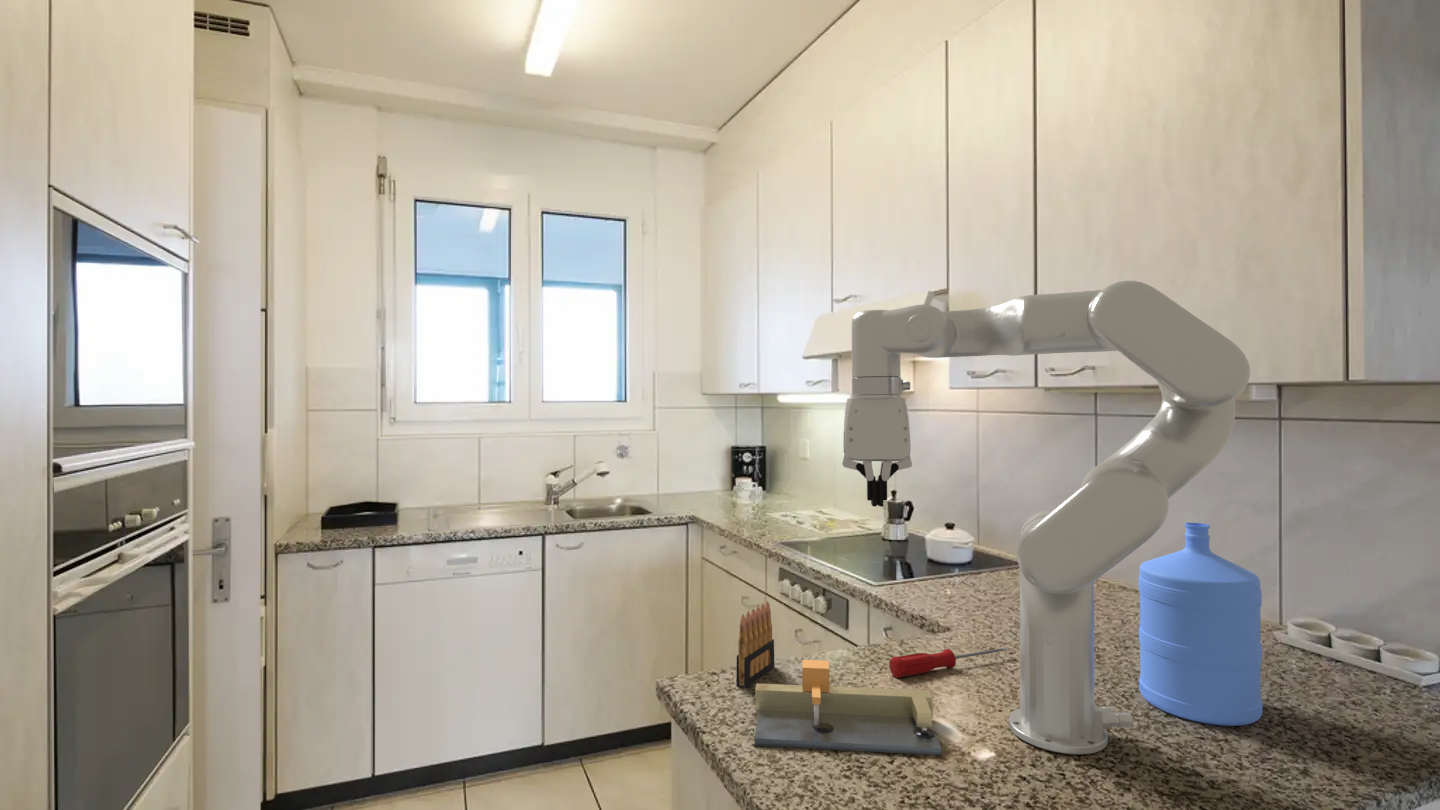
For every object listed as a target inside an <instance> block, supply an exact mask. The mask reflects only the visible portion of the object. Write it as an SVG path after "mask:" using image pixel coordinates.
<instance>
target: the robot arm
mask: <svg viewBox="0 0 1440 810" xmlns="http://www.w3.org/2000/svg"><path fill="white" fill-rule="evenodd" d="M1101 352H1102V353H1103V352H1119V353H1120V354H1122V356H1123V357H1125V358H1126V359H1128V360H1129V361H1131V363H1133V364H1134V365H1136V366H1137V367H1138V368H1140V369H1141V370H1143V372H1145V373H1146V374H1147V375H1149V376H1150V377H1152V378H1153V379H1154V380H1156V381H1157V385H1158V389H1159V390H1160V393H1161V405H1160V407H1159V410H1158V412H1157V413H1156V415H1155V416H1154V417H1153V418H1152V419H1151V421H1150V422H1148V423H1147V424H1146V425H1145V426H1144V427H1143V428H1142V429H1141V430H1140V431H1139V432H1137V433H1136V434H1135V435H1134V436H1133V437H1132V438H1131V439H1130V440H1128V441H1127V442H1126V443H1125V444H1124V445H1122V446H1121V447H1119V449H1118V450H1116V451H1115V452H1114V453H1113V454H1111V455H1110V456H1109V457H1108V458H1106V459H1105V460H1104V461H1102V462H1101V463H1099V464H1098V465H1096V466H1094V467H1093V468H1092V469H1090V470H1089V471H1088V472H1087V474H1086V475H1085V476H1084V477H1083V480H1082V482H1081V483H1080V487H1079V488H1078V489H1077V490H1076V491H1075V492H1073V493H1072V494H1071V495H1069V496H1068V497H1067V498H1066V499H1065V500H1064V501H1062V503H1060V504H1059V505H1057V507H1055V508H1054V509H1045V510H1042V511H1039V512H1037V513H1035V514H1033V515H1032V516H1030V517H1029V518H1028V519H1027V520H1026V521H1025V523H1024V524H1023V525H1022V527H1021V529H1020V532H1019V535H1018V540H1017V547H1016V548H1017V549H1016V558H1017V564H1018V566H1019V688H1020V689H1019V691H1020V692H1019V694H1020V695H1019V697H1020V698H1019V701H1020V702H1019V703H1020V705H1019V706H1020V707H1019V708H1016V709H1014V710H1013V711H1012V712H1011V713H1010V714H1009V716H1008V727H1009V729H1010V731H1011V732H1012V733H1014V735H1015V736H1017V737H1018V738H1019V739H1021V740H1022V741H1024V742H1026V743H1028V744H1030V745H1031V746H1032V745H1033V746H1035V747H1037V748H1040V749H1043V750H1047V751H1050V752H1054V753H1060V754H1067V755H1088V754H1089V755H1090V754H1094V753H1098V752H1100V751H1102V750H1104V749H1105V748H1107V745H1108V743H1109V742H1108V737H1109V735H1108V733H1107V730H1108V729H1109V728H1110V727H1118V728H1126V729H1127V728H1128V729H1132V728H1133V727H1134V720H1133V719H1134V718H1133V715H1132V714H1131V713H1130V712H1122V711H1121V712H1117V711H1115V708H1114V707H1113V706H1107V705H1106V706H1105V705H1103V706H1098V705H1097V703H1095V588H1094V587H1095V586H1094V584H1095V581H1097V580H1098V579H1099V578H1101V577H1102V576H1103V575H1105V574H1106V573H1108V572H1109V570H1111V569H1113V568H1114V567H1115V566H1117V564H1119V563H1120V562H1122V561H1123V560H1124V559H1125V558H1127V557H1128V556H1129V555H1130V554H1133V552H1134V551H1136V550H1138V548H1140V547H1141V546H1142V545H1143V544H1145V543H1146V542H1148V541H1149V540H1150V539H1151V538H1152V537H1153V536H1154V535H1155V534H1156V533H1157V532H1158V530H1159V529H1160V528H1161V526H1162V525H1163V524H1164V522H1165V520H1166V518H1167V515H1168V513H1169V499H1170V498H1172V496H1173V495H1175V494H1176V493H1177V492H1178V491H1180V490H1181V489H1182V488H1183V487H1185V486H1186V485H1187V484H1188V483H1189V482H1190V481H1191V480H1193V478H1195V477H1196V476H1197V475H1199V474H1200V473H1201V472H1202V471H1203V470H1205V469H1206V468H1207V466H1210V464H1211V463H1212V462H1213V461H1214V460H1215V459H1216V458H1217V457H1218V456H1219V455H1220V453H1221V452H1222V451H1223V450H1224V448H1225V447H1226V445H1227V444H1228V441H1229V439H1230V437H1231V434H1232V431H1233V428H1234V425H1235V424H1234V423H1235V419H1236V398H1237V397H1239V396H1240V395H1241V394H1242V393H1243V392H1244V390H1245V389H1246V387H1247V386H1248V383H1249V380H1250V378H1251V376H1250V375H1251V368H1250V367H1251V366H1250V363H1249V360H1248V358H1247V357H1246V355H1245V353H1244V352H1243V351H1242V349H1241V348H1240V347H1239V346H1238V345H1237V344H1235V343H1234V342H1233V341H1232V340H1231V339H1229V338H1228V337H1226V336H1225V335H1223V334H1222V333H1220V332H1219V331H1218V330H1216V329H1215V328H1213V327H1212V326H1210V325H1209V324H1207V323H1206V322H1205V321H1203V320H1201V319H1200V318H1198V316H1196V315H1194V314H1193V313H1191V312H1190V311H1188V310H1187V309H1185V308H1184V307H1182V306H1181V305H1180V304H1178V303H1177V302H1175V301H1174V300H1172V299H1171V298H1170V297H1168V296H1167V295H1166V294H1164V293H1162V291H1160V290H1158V289H1157V288H1155V287H1153V286H1151V285H1149V284H1147V283H1144V282H1142V281H1136V280H1123V281H1122V280H1121V281H1118V282H1115V283H1112V284H1110V285H1108V286H1106V287H1104V288H1103V289H1097V290H1085V291H1071V292H1060V293H1059V292H1058V293H1045V294H1042V293H1041V294H1030V295H1024V296H1018V297H1015V298H1013V299H1011V300H1008V301H1006V302H1004V303H1001V304H998V305H994V306H989V307H983V308H978V309H977V308H975V309H962V310H950V311H947V310H945V311H942V309H941V310H940V308H938V307H936V306H934V305H931V304H916V305H909V306H906V307H900V308H895V309H891V310H889V309H868V310H862V311H858V312H856V313H855V314H854V315H853V316H852V320H851V397H849V398H846V403H845V410H844V421H843V455H844V456H843V460H842V462H841V464H842V466H843V468H847V469H850V470H855V471H857V472H859V473H860V475H862V476H863V477H864V478H865V479H866V498H867V499H866V501H870V505H871V506H872V507H877V506H879V507H880V508H883V507H884V501H888V481H889V480H890V478H892V476H894V474H895V473H897V471H902V470H905V469H909V468H912V466H913V463H912V459H911V452H912V451H911V448H912V447H911V430H910V419H909V413H908V412H909V411H908V406H907V400H906V398H905V397H902V395H903V394H902V393H903V392H905V391H910V390H911V381H906V380H903V379H902V376H901V373H902V372H901V353H902V354H913V355H917V356H921V357H923V358H931V359H933V358H934V359H937V358H938V359H939V358H940V359H941V358H963V357H966V358H967V357H982V356H984V357H985V356H1012V357H1013V356H1023V355H1024V356H1026V355H1027V356H1030V355H1044V354H1046V355H1047V354H1049V355H1050V354H1068V353H1101ZM901 394H902V395H901ZM872 462H881V465H880V471H879V475H877V477H878V478H876V476H875V475H874V470H873V469H874V468H873V463H872ZM876 479H877V480H876Z"/></svg>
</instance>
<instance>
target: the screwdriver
mask: <svg viewBox="0 0 1440 810" xmlns="http://www.w3.org/2000/svg"><path fill="white" fill-rule="evenodd" d="M1008 650H1010V648H1009V647H1002V648H995V649H988V650H982V651H977V652H971V653H964V654H958V655H955V653H954V652H953V651H952V649H950V648H945V649H943V651H941V652H937V653H926V652H925V653H924V652H919V653H911V654H907V655H901V656H893V657H891V658H890V660H889V671H890V673H891V674H892V675H893V677H895V678H896V679H899V678H900V679H901V678H903V677H907V676H908V677H909V676H914V675H921V674H926V673H928V672H930V671H932V670H934V669H938V668H944V667H946V668H948V669H953V668H955V666H956V665H957V663H956V662H957V659H963V658H968V657H974V656H975V657H977V656H981V655H988V654H993V653H994V654H995V653H998V652H1004V651H1008Z"/></svg>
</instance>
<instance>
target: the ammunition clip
mask: <svg viewBox="0 0 1440 810" xmlns="http://www.w3.org/2000/svg"><path fill="white" fill-rule="evenodd" d="M771 615H772V612H771V606H770V603H769V601H768V600H766V601H765V604H764V603H761V605H760V606H759V605H757V606H756V609H754V608H752V610H751V612H750V611H747V612H746V615H744V613H742V614H741V617H740V621H739V631H738V632H739V633H738V635H739V636H738V643H737V644H738V652H737V653H738V654H737V655H736V675H735V676H736V680H735V681H736V682H735V683H736V685H735V686H736V687H738V688H743V689H747V688H749V687H750V686H751V685H753V684H754V683H755V682H757V681H759V680H760V679H761V678H762V677H764V676H765V675H766V674H767V673H769V672H771V671H772V670H773V669H774V668H775V640H774V639H773V624H772V616H771Z"/></svg>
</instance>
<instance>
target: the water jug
mask: <svg viewBox="0 0 1440 810" xmlns="http://www.w3.org/2000/svg"><path fill="white" fill-rule="evenodd" d="M1184 527H1185V533H1184V538H1185V545H1184V546H1185V547H1184V548H1183V549H1182V550H1178V551H1174V552H1172V553H1167V554H1165V555H1162V556H1158V557H1156V558H1152V559H1149V560H1146V561H1143V562H1142V563H1141V564H1140V565H1139V574H1138V591H1139V626H1138V641H1139V654H1140V655H1139V656H1140V657H1139V659H1140V660H1139V663H1140V665H1139V667H1140V668H1139V673H1140V674H1139V677H1138V678H1139V679H1138V687H1139V688H1138V689H1139V692H1140V694H1141V696H1142V697H1143V698H1144V699H1145V700H1146V701H1147V702H1148V703H1150V704H1151V705H1152V706H1153V707H1156V708H1157V709H1159V710H1161V711H1164V712H1165V713H1168V714H1170V715H1173V716H1176V717H1179V718H1182V719H1185V720H1190V721H1193V722H1197V723H1202V724H1208V725H1215V726H1224V727H1225V726H1226V727H1227V726H1228V727H1232V726H1233V727H1237V726H1238V727H1239V726H1246V725H1250V724H1253V723H1255V722H1257V721H1258V720H1259V719H1260V718H1261V717H1262V715H1263V707H1264V706H1263V703H1264V702H1263V699H1262V684H1261V683H1262V682H1261V681H1262V676H1261V675H1262V673H1261V671H1262V669H1261V665H1262V661H1263V646H1262V642H1261V641H1262V640H1261V639H1262V637H1261V636H1262V634H1261V633H1262V631H1261V629H1262V628H1261V627H1262V625H1261V622H1262V621H1261V620H1262V618H1261V608H1262V602H1263V596H1262V595H1263V594H1262V589H1261V579H1260V577H1259V576H1258V575H1257V574H1255V573H1254V572H1252V571H1250V570H1249V569H1246V568H1244V567H1242V566H1240V565H1239V564H1236V563H1234V562H1232V561H1230V560H1227V559H1225V558H1224V557H1222V556H1220V555H1217V554H1215V553H1213V551H1212V550H1211V549H1210V538H1211V537H1210V535H1209V530H1210V527H1211V526H1210V525H1209V524H1206V523H1199V522H1185V523H1184Z"/></svg>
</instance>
